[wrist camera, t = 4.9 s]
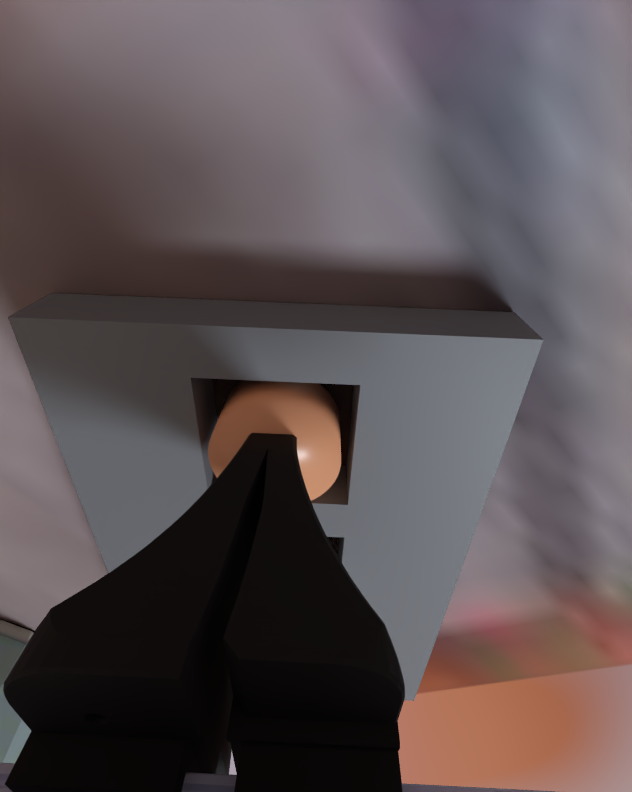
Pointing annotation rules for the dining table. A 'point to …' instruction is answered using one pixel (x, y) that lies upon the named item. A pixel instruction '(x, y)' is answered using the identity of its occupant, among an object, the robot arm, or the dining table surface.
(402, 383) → the button panel
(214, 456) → the terracotta button
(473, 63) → the dining table surface
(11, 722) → the disposable coffee cup
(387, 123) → the dining table surface
